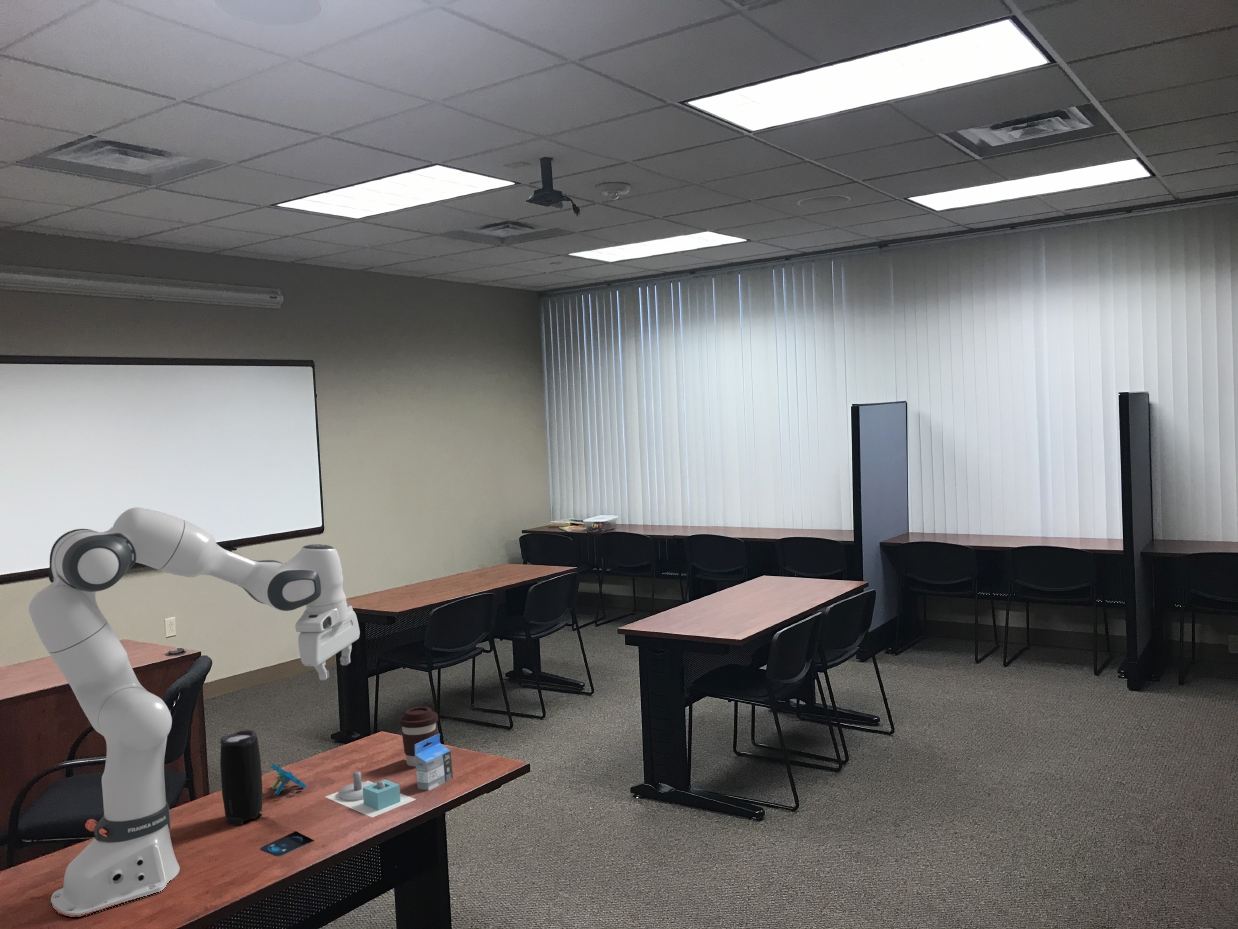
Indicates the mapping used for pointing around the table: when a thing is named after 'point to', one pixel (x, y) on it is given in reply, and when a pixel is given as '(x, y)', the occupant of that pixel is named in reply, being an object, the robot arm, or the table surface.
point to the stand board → (354, 797)
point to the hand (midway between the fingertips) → (335, 671)
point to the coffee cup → (417, 729)
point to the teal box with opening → (381, 795)
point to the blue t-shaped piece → (285, 779)
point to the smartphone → (286, 844)
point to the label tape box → (432, 763)
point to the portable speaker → (241, 777)
